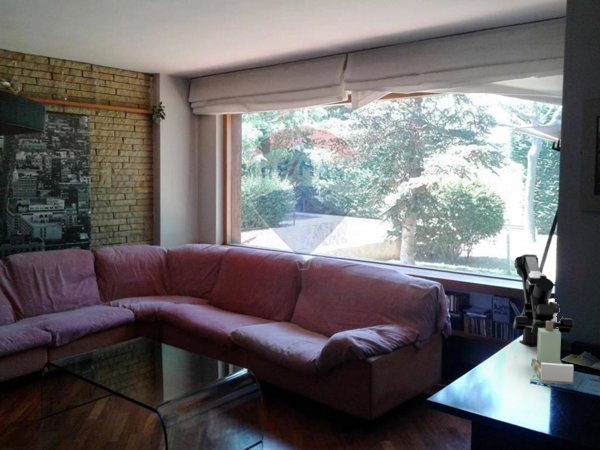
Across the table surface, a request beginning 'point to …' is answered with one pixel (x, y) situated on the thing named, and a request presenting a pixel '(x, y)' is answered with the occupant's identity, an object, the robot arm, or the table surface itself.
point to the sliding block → (548, 344)
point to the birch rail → (538, 372)
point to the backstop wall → (557, 372)
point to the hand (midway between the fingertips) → (546, 346)
